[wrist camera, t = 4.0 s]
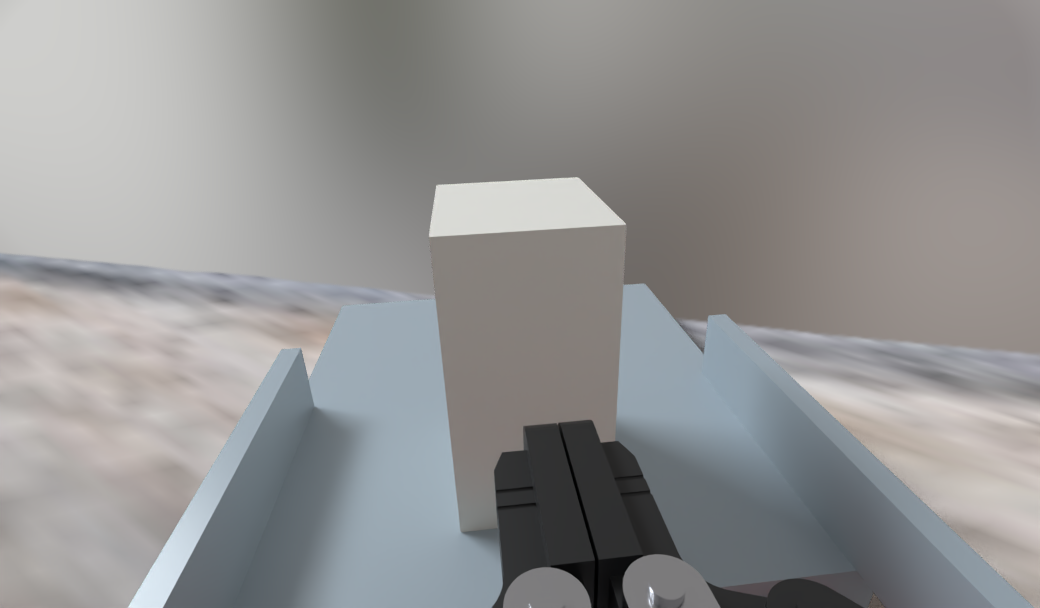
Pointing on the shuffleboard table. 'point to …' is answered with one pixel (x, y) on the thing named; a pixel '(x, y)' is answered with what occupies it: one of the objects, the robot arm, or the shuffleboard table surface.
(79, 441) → the shuffleboard table surface
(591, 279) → the cream block
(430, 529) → the trough
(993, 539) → the shuffleboard table surface
